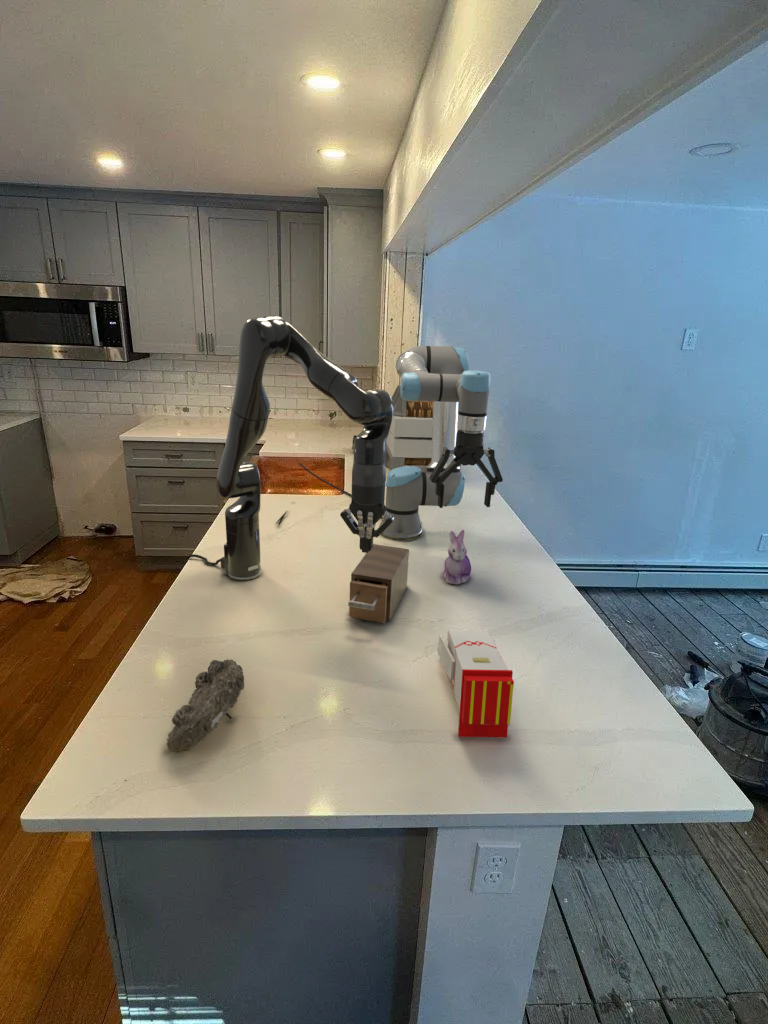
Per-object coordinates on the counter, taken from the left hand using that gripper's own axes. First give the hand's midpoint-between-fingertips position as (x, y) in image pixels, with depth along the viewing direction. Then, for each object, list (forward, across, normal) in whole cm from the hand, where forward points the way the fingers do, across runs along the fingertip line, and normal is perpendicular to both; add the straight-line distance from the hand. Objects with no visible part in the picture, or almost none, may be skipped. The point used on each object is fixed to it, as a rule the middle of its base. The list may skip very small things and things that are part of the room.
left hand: (366, 551), depth 133 cm
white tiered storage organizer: (+21, -15, +144) cm, 147 cm away
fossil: (+21, -18, -39) cm, 48 cm away
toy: (+21, +28, -16) cm, 39 cm away
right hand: (-3, +18, +33) cm, 38 cm away
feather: (+21, -51, +68) cm, 87 cm away
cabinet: (+21, 0, +16) cm, 26 cm away
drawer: (+20, 0, +9) cm, 22 cm away
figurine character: (+21, -56, +174) cm, 184 cm away
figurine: (+21, +18, +36) cm, 45 cm away
